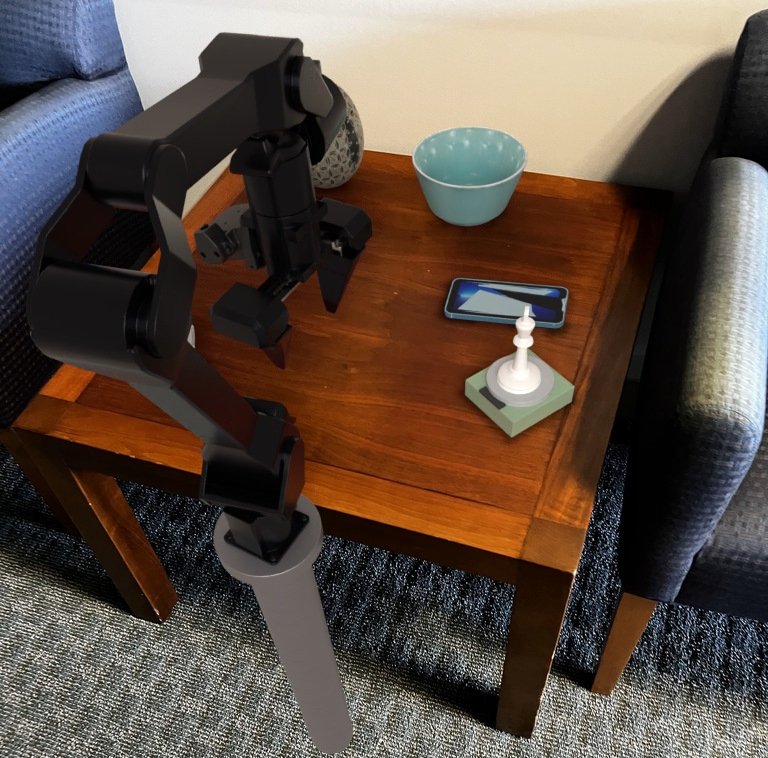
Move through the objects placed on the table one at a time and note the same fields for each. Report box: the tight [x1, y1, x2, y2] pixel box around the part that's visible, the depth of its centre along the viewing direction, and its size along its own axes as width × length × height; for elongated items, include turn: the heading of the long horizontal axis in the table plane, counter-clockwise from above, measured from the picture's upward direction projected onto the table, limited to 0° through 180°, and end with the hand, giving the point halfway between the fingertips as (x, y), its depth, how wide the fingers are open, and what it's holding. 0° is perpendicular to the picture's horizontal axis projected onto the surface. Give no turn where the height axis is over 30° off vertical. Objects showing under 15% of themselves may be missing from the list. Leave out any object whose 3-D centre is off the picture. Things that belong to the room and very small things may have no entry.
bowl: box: [411, 125, 529, 227], centre depth 108 cm, size 16×16×8 cm
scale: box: [464, 347, 575, 438], centre depth 88 cm, size 9×8×3 cm
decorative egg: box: [312, 83, 365, 189], centre depth 111 cm, size 12×12×15 cm
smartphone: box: [443, 277, 570, 329], centre depth 98 cm, size 7×1×15 cm
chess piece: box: [497, 306, 541, 394], centre depth 82 cm, size 5×5×10 cm
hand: (307, 338), depth 78 cm, fingers open, 9 cm apart
